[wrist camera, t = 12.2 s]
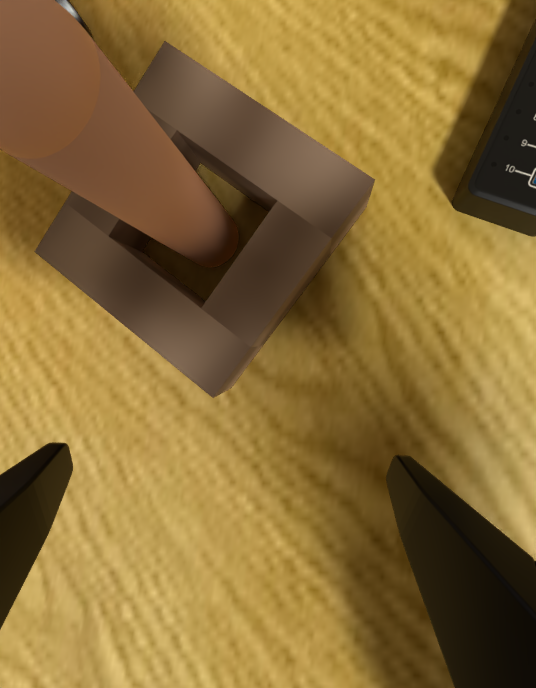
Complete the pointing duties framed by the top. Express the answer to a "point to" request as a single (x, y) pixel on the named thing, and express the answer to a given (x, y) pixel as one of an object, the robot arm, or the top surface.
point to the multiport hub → (507, 154)
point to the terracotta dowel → (99, 134)
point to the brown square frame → (258, 254)
